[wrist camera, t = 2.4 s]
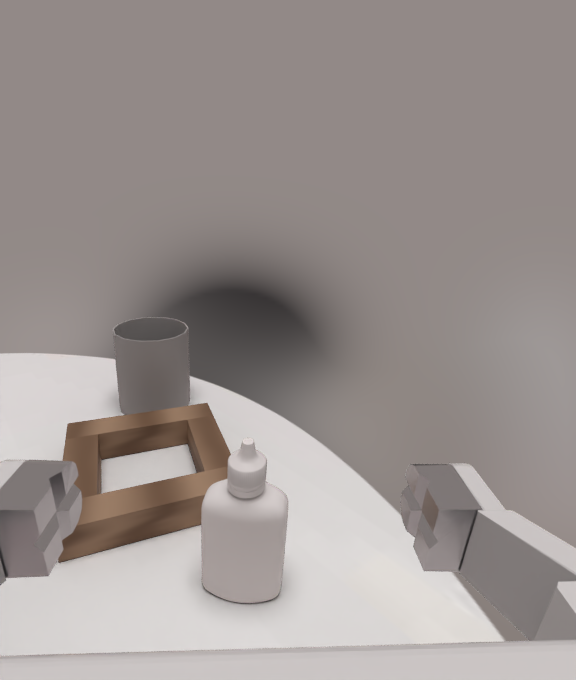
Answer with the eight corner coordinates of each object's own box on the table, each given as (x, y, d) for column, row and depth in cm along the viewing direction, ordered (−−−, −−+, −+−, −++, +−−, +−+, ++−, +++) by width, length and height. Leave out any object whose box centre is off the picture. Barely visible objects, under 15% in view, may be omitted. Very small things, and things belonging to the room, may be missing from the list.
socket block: (59, 562, 29) (52, 531, 27) (71, 448, 40) (67, 423, 39) (243, 512, 34) (245, 485, 33) (207, 425, 46) (207, 402, 45)
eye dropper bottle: (233, 540, 31) (237, 410, 27) (291, 580, 29) (306, 442, 24) (192, 581, 28) (188, 439, 24) (254, 631, 25) (262, 480, 21)
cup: (134, 428, 44) (127, 346, 41) (110, 398, 50) (102, 323, 46) (201, 407, 50) (200, 332, 46) (172, 381, 55) (170, 313, 52)
